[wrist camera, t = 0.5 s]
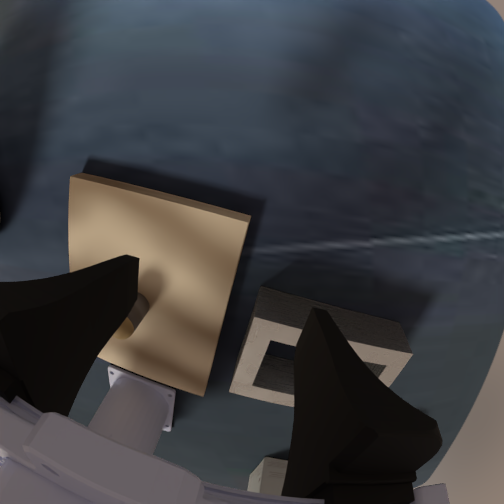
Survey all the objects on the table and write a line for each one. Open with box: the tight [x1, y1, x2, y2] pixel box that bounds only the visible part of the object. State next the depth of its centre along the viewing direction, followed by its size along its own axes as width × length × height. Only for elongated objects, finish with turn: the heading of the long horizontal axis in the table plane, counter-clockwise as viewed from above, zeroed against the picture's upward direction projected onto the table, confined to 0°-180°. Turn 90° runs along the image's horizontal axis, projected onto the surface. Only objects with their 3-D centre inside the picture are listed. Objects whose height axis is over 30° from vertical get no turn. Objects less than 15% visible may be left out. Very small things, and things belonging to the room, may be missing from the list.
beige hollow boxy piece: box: [229, 286, 413, 407], centre depth 22 cm, size 8×12×4 cm, turn 76°
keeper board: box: [69, 173, 251, 396], centre depth 22 cm, size 18×14×6 cm
